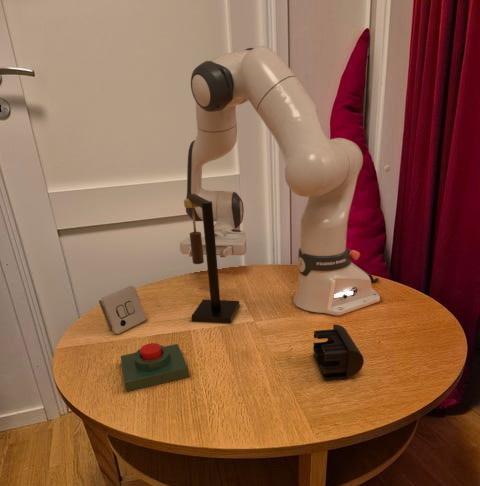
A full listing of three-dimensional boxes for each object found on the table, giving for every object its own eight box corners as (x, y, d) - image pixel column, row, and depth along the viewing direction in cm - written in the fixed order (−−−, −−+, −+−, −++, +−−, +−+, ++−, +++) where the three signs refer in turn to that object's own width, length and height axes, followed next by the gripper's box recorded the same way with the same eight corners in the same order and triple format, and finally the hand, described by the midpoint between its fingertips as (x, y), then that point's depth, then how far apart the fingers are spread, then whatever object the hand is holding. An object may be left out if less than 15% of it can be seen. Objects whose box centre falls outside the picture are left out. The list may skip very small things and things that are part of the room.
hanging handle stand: (245, 295, 114) (239, 191, 101) (230, 323, 99) (222, 206, 86) (197, 293, 117) (186, 192, 104) (176, 320, 102) (160, 207, 89)
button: (160, 348, 83) (159, 341, 82) (163, 358, 80) (162, 350, 79) (140, 352, 82) (139, 345, 81) (142, 363, 79) (141, 355, 78)
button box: (178, 352, 88) (176, 336, 86) (188, 377, 80) (186, 360, 78) (122, 364, 85) (118, 348, 83) (126, 391, 77) (122, 374, 75)
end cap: (362, 379, 76) (365, 348, 73) (324, 382, 76) (326, 351, 73) (346, 351, 85) (348, 322, 82) (312, 354, 85) (313, 325, 82)
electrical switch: (116, 336, 96) (106, 299, 93) (104, 332, 99) (93, 296, 96) (147, 320, 103) (139, 286, 99) (134, 317, 106) (126, 283, 102)
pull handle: (205, 260, 111) (200, 207, 104) (202, 264, 108) (196, 210, 102) (194, 260, 111) (189, 207, 105) (191, 264, 109) (185, 210, 102)
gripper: (186, 230, 130) (171, 243, 118) (249, 230, 125) (240, 244, 113) (188, 249, 133) (173, 263, 121) (250, 250, 128) (241, 265, 116)
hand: (206, 254), depth 117 cm, fingers open, 8 cm apart
